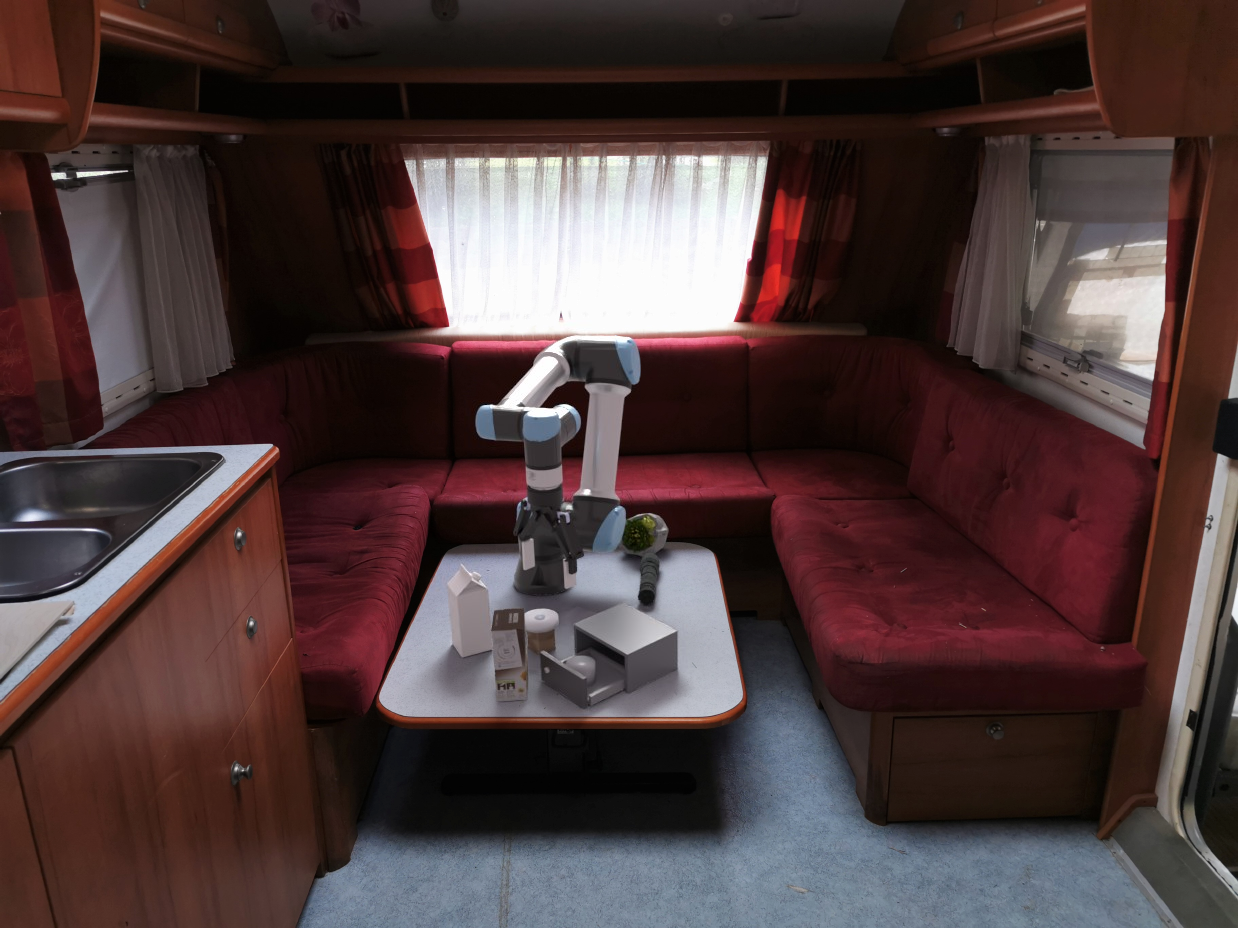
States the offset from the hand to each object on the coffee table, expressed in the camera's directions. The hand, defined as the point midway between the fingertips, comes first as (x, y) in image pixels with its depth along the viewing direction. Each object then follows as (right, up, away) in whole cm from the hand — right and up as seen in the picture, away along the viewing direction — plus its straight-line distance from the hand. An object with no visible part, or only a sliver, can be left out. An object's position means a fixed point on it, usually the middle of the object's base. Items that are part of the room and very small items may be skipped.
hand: (549, 576), depth 195 cm
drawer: (+8, -20, -9) cm, 24 cm away
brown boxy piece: (-2, -16, +5) cm, 17 cm away
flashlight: (+23, -7, +33) cm, 41 cm away
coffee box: (-7, -22, -10) cm, 25 cm away
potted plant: (+22, -1, +51) cm, 56 cm away
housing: (+17, -18, -2) cm, 25 cm away
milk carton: (-18, -17, +7) cm, 25 cm away
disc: (-2, -11, +3) cm, 11 cm away
